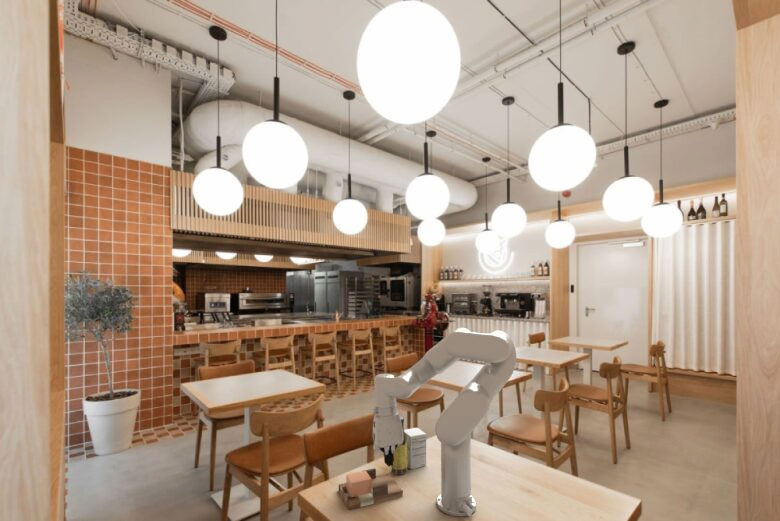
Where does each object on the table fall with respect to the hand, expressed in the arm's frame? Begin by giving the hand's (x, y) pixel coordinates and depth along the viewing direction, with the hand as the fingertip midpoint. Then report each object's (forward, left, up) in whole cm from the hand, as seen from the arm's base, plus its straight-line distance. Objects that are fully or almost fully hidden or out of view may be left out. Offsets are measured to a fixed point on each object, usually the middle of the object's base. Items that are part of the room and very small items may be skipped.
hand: (389, 464), depth 127 cm
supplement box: (+14, -17, -9) cm, 24 cm away
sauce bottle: (+11, -9, -9) cm, 17 cm away
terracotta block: (+1, +11, -7) cm, 13 cm away
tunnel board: (+1, +7, -9) cm, 11 cm away
